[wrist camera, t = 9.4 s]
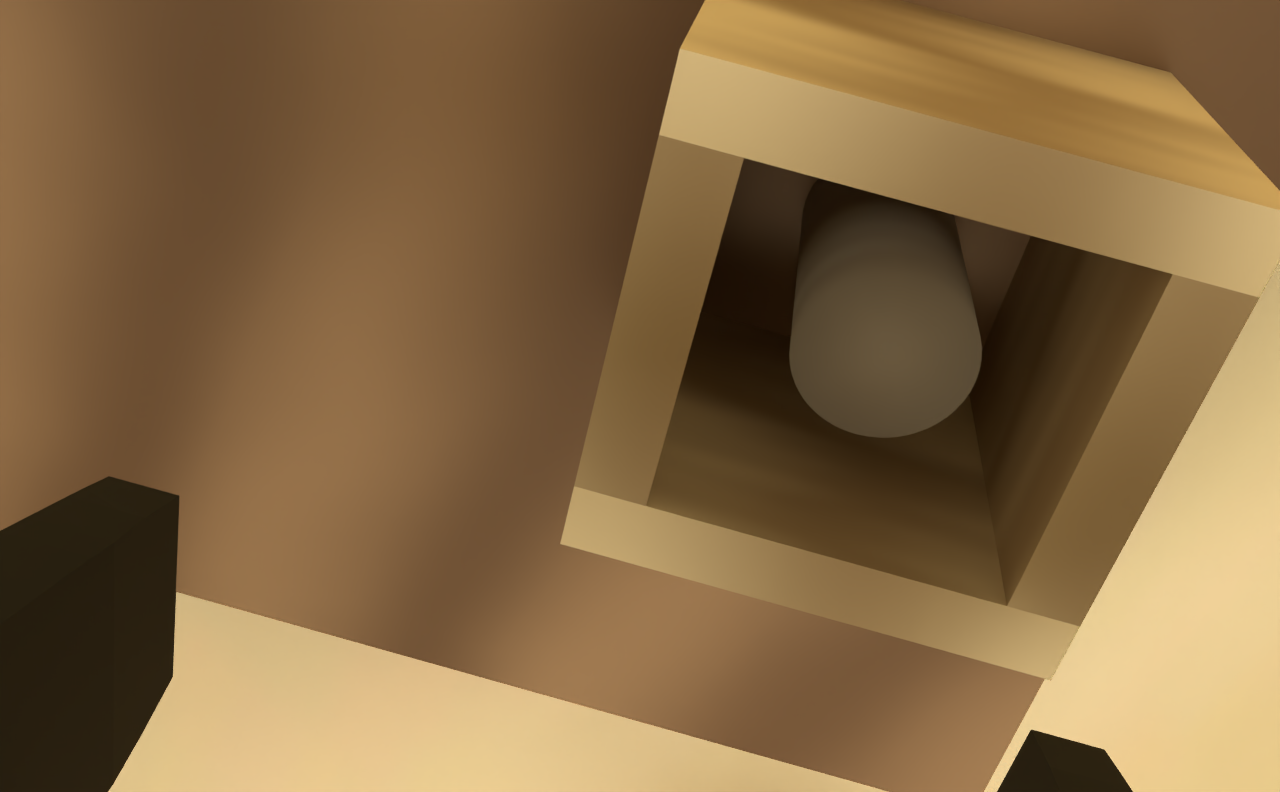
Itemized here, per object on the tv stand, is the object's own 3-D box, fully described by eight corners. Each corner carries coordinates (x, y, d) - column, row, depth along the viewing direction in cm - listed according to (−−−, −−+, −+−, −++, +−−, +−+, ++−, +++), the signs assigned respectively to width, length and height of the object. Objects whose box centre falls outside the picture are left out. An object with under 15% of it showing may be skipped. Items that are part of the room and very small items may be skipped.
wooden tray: (32, 502, 23) (-171, 695, 18) (-4, -359, 16) (-353, -394, 11) (965, 763, 22) (994, 1026, 18) (1360, 3, 15) (1576, 120, 11)
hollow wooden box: (630, 343, 18) (560, 543, 13) (729, -47, 15) (680, 47, 11) (1001, 445, 18) (1050, 679, 13) (1171, 72, 15) (1302, 215, 10)
